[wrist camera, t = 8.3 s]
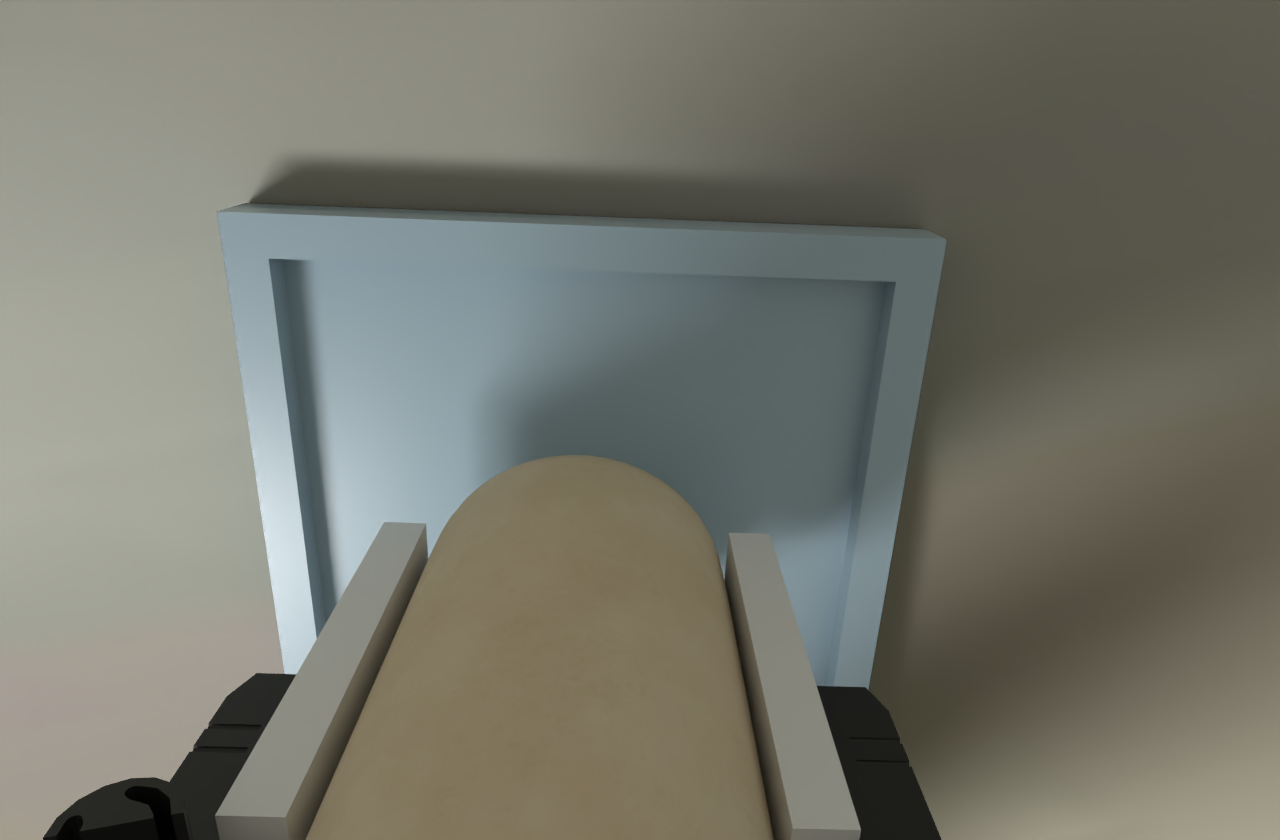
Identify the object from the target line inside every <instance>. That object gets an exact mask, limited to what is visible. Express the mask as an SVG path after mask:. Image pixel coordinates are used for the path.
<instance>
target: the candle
mask: <svg viewBox="0 0 1280 840" xmlns="http://www.w3.org/2000/svg"><path fill="white" fill-rule="evenodd" d="M306 840H774V836H773V831H772V825H771V820H770V815H769V810H768V804H767V799H766V794H765V789H764V783H763V778H762V773H761V768H760V762H759V757H758V752H757V746H756V741H755V736H754V731H753V725H752V720H751V715H750V710H749V704H748V699H747V694H746V689H745V683H744V678H743V673H742V667H741V662H740V657H739V652H738V646H737V641H736V636H735V631H734V625H733V620H732V615H731V610H730V604H729V599H728V594H727V590H726V585H725V581H724V577H723V572H722V568H721V564H720V559H719V555H718V553H717V550H716V548H715V545H714V543H713V540H712V538H711V536H710V534H709V533H708V531H707V529H706V527H705V526H704V524H703V522H702V520H701V519H700V517H699V516H698V514H697V513H696V512H695V511H694V509H693V508H692V507H691V505H690V504H689V503H688V502H687V501H686V500H685V499H684V498H683V497H682V496H681V495H680V494H679V493H678V492H677V491H675V490H674V489H673V488H671V487H670V486H669V485H667V484H666V483H665V482H663V481H662V480H660V479H659V478H657V477H655V476H653V475H651V474H650V473H648V472H646V471H644V470H642V469H639V468H637V467H634V466H632V465H630V464H627V463H624V462H620V461H616V460H612V459H609V458H603V457H596V456H589V455H562V456H551V457H545V458H541V459H536V460H532V461H528V462H525V463H523V464H520V465H517V466H514V467H511V468H509V469H507V470H506V471H504V472H502V473H500V474H498V475H496V476H494V477H493V478H491V479H490V480H488V481H487V482H485V483H484V484H482V485H481V486H480V487H478V488H477V489H476V490H475V491H474V492H473V493H472V494H471V495H470V496H469V497H467V498H466V500H465V501H464V502H463V503H462V504H461V505H460V506H459V508H458V509H457V510H456V511H455V513H454V514H453V515H452V516H451V517H450V519H449V520H448V522H447V524H446V525H445V527H444V529H443V530H442V532H441V534H440V536H439V538H438V540H437V542H436V544H435V546H434V548H433V550H432V552H431V554H430V556H429V559H428V561H427V563H426V566H425V568H424V570H423V572H422V575H421V577H420V579H419V582H418V584H417V586H416V588H415V591H414V593H413V595H412V598H411V600H410V602H409V604H408V607H407V609H406V611H405V614H404V616H403V618H402V620H401V623H400V625H399V627H398V630H397V632H396V634H395V636H394V639H393V641H392V643H391V646H390V648H389V650H388V652H387V655H386V657H385V659H384V661H383V664H382V666H381V668H380V671H379V673H378V675H377V677H376V680H375V682H374V684H373V687H372V689H371V691H370V693H369V696H368V698H367V700H366V703H365V705H364V707H363V709H362V712H361V714H360V716H359V719H358V721H357V723H356V725H355V728H354V730H353V732H352V735H351V737H350V739H349V741H348V744H347V746H346V748H345V751H344V753H343V755H342V757H341V760H340V762H339V764H338V767H337V769H336V771H335V773H334V776H333V778H332V780H331V782H330V785H329V787H328V789H327V792H326V794H325V796H324V798H323V801H322V803H321V805H320V808H319V810H318V812H317V814H316V817H315V819H314V821H313V824H312V826H311V828H310V830H309V833H308V835H307V837H306Z"/></svg>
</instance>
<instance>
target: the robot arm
mask: <svg viewBox="0 0 1280 840" xmlns="http://www.w3.org/2000/svg"><path fill="white" fill-rule="evenodd" d="M427 561H428V546H427V530H426V523H398V522H384V524H383V525H382V527H381V529H380V530H379V532H378V534H377V536H376V537H375V539H374V541H373V543H372V544H371V546H370V548H369V549H368V551H367V553H366V555H365V556H364V558H363V560H362V562H361V563H360V565H359V567H358V569H357V570H356V572H355V574H354V575H353V577H352V579H351V581H350V582H349V584H348V586H347V588H346V589H345V591H344V593H343V595H342V596H341V598H340V600H339V601H338V603H337V605H336V607H335V608H334V610H333V612H332V614H331V615H330V617H329V619H328V621H327V622H326V624H325V626H324V627H323V629H322V631H321V633H320V634H319V636H318V638H317V640H316V641H315V643H314V645H313V647H312V648H311V650H310V652H309V653H308V655H307V657H306V659H305V660H304V662H303V664H302V666H301V667H300V669H299V671H298V673H297V674H264V673H256V674H255V675H254V676H252V677H251V678H250V679H249V680H247V681H246V682H245V683H243V684H242V685H241V686H240V687H238V688H237V689H236V690H235V691H233V692H232V693H231V694H229V695H228V696H227V697H226V699H225V700H224V702H223V703H222V704H221V706H220V707H219V709H218V710H217V712H216V713H215V715H214V716H213V718H212V719H211V721H210V722H209V727H208V729H205V730H204V731H203V733H202V734H201V736H200V737H199V739H198V740H197V742H196V743H195V745H194V749H193V752H189V754H188V755H187V757H186V758H185V760H184V761H183V763H182V764H181V766H180V767H179V769H178V770H177V772H176V773H175V775H174V776H173V778H172V779H171V780H170V782H167V781H164V780H161V779H158V778H131V779H128V780H124V781H121V782H117V783H114V784H110V785H107V786H104V787H102V788H100V789H98V790H96V791H94V792H92V793H90V794H89V795H87V796H85V797H83V798H81V799H79V800H78V801H76V802H75V803H74V804H73V805H72V806H70V807H69V808H68V809H67V810H66V811H64V812H63V813H62V814H61V815H60V816H58V817H57V818H56V820H55V821H54V823H53V824H52V826H51V827H50V828H49V830H48V831H47V833H46V834H45V836H44V837H43V840H306V837H307V835H308V833H309V830H310V828H311V826H312V824H313V821H314V819H315V817H316V814H317V812H318V810H319V808H320V805H321V803H322V801H323V798H324V796H325V794H326V792H327V789H328V787H329V785H330V782H331V780H332V778H333V776H334V773H335V771H336V769H337V767H338V764H339V762H340V760H341V757H342V755H343V753H344V751H345V748H346V746H347V744H348V741H349V739H350V737H351V735H352V732H353V730H354V728H355V725H356V723H357V721H358V719H359V716H360V714H361V712H362V709H363V707H364V705H365V703H366V700H367V698H368V696H369V693H370V691H371V689H372V687H373V684H374V682H375V680H376V677H377V675H378V673H379V671H380V668H381V666H382V664H383V661H384V659H385V657H386V655H387V652H388V650H389V648H390V646H391V643H392V641H393V639H394V636H395V634H396V632H397V630H398V627H399V625H400V623H401V620H402V618H403V616H404V614H405V611H406V609H407V607H408V604H409V602H410V600H411V598H412V595H413V593H414V591H415V588H416V586H417V584H418V582H419V579H420V577H421V575H422V572H423V570H424V568H425V566H426V563H427ZM724 581H725V585H726V590H727V594H728V599H729V604H730V610H731V615H732V620H733V625H734V631H735V636H736V641H737V646H738V652H739V657H740V662H741V667H742V673H743V678H744V683H745V689H746V694H747V699H748V704H749V710H750V715H751V720H752V725H753V731H754V736H755V741H756V746H757V752H758V757H759V762H760V768H761V773H762V778H763V783H764V789H765V794H766V799H767V804H768V810H769V815H770V820H771V825H772V831H773V836H774V840H941V837H940V835H939V832H938V830H937V828H936V825H935V823H934V820H933V818H932V815H931V813H930V811H929V808H928V806H927V803H926V801H925V799H924V796H923V794H922V791H921V789H920V786H919V784H918V782H917V779H916V777H915V774H914V772H913V769H912V767H909V760H908V757H907V755H906V752H905V750H904V748H903V745H902V744H900V738H899V736H898V733H897V731H896V728H895V726H894V723H893V721H892V719H891V716H890V714H889V711H888V710H887V709H886V708H885V707H884V706H883V705H882V704H881V703H880V702H879V701H878V700H877V699H876V698H875V697H874V696H873V695H872V694H871V693H870V692H869V691H868V689H867V688H866V687H843V686H816V682H815V679H814V676H813V673H812V669H811V666H810V663H809V660H808V657H807V653H806V650H805V647H804V644H803V640H802V637H801V634H800V631H799V627H798V624H797V621H796V618H795V614H794V611H793V608H792V605H791V602H790V598H789V595H788V592H787V589H786V585H785V582H784V579H783V576H782V572H781V569H780V566H779V563H778V560H777V556H776V553H775V550H774V547H773V543H772V540H771V537H770V534H760V533H729V534H728V545H727V556H726V567H725V578H724Z"/></svg>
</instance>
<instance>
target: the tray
mask: <svg viewBox="0 0 1280 840" xmlns="http://www.w3.org/2000/svg"><path fill="white" fill-rule="evenodd" d="M217 215H218V222H219V229H220V236H221V243H222V250H223V256H224V263H225V270H226V277H227V284H228V290H229V297H230V304H231V311H232V318H233V324H234V331H235V338H236V345H237V352H238V359H239V365H240V372H241V379H242V386H243V393H244V399H245V406H246V413H247V420H248V427H249V434H250V440H251V447H252V454H253V461H254V468H255V474H256V481H257V488H258V495H259V502H260V508H261V515H262V522H263V529H264V536H265V543H266V549H267V556H268V563H269V570H270V577H271V583H272V590H273V597H274V604H275V611H276V618H277V624H278V631H279V638H280V645H281V652H282V658H283V665H284V672H285V674H297V673H298V671H299V669H300V667H301V666H302V664H303V662H304V660H305V659H306V657H307V655H308V653H309V652H310V650H311V648H312V647H313V645H314V643H315V641H316V640H317V638H318V636H319V634H320V633H321V631H322V629H323V627H324V626H325V624H326V622H327V621H328V619H329V617H330V615H331V614H332V612H333V610H334V608H335V607H336V605H337V603H338V601H339V600H340V598H341V596H342V595H343V593H344V591H345V589H346V588H347V586H348V584H349V582H350V581H351V579H352V577H353V575H354V574H355V572H356V570H357V569H358V567H359V565H360V563H361V562H362V560H363V558H364V556H365V555H366V553H367V551H368V549H369V548H370V546H371V544H372V543H373V541H374V539H375V537H376V536H377V534H378V532H379V530H380V529H381V527H382V525H383V524H384V522H398V523H426V530H427V546H428V559H429V556H430V554H431V552H432V550H433V548H434V546H435V544H436V542H437V540H438V538H439V536H440V534H441V532H442V530H443V529H444V527H445V525H446V524H447V522H448V520H449V519H450V517H451V516H452V515H453V514H454V513H455V511H456V510H457V509H458V508H459V506H460V505H461V504H462V503H463V502H464V501H465V500H466V498H467V497H469V496H470V495H471V494H472V493H473V492H474V491H475V490H476V489H477V488H478V487H480V486H481V485H482V484H484V483H485V482H487V481H488V480H490V479H491V478H493V477H494V476H496V475H498V474H500V473H502V472H504V471H506V470H507V469H509V468H511V467H514V466H517V465H520V464H523V463H525V462H528V461H532V460H536V459H541V458H545V457H551V456H562V455H589V456H596V457H603V458H609V459H612V460H616V461H620V462H624V463H627V464H630V465H632V466H634V467H637V468H639V469H642V470H644V471H646V472H648V473H650V474H651V475H653V476H655V477H657V478H659V479H660V480H662V481H663V482H665V483H666V484H667V485H669V486H670V487H671V488H673V489H674V490H675V491H677V492H678V493H679V494H680V495H681V496H682V497H683V498H684V499H685V500H686V501H687V502H688V503H689V504H690V505H691V507H692V508H693V509H694V511H695V512H696V513H697V514H698V516H699V517H700V519H701V520H702V522H703V524H704V526H705V527H706V529H707V531H708V533H709V534H710V536H711V538H712V540H713V543H714V545H715V548H716V550H717V553H718V555H719V559H720V564H721V568H722V572H723V577H724V578H725V567H726V556H727V545H728V534H729V533H760V534H770V537H771V540H772V543H773V547H774V550H775V553H776V556H777V560H778V563H779V566H780V569H781V572H782V576H783V579H784V582H785V585H786V589H787V592H788V595H789V598H790V602H791V605H792V608H793V611H794V614H795V618H796V621H797V624H798V627H799V631H800V634H801V637H802V640H803V644H804V647H805V650H806V653H807V657H808V660H809V663H810V666H811V669H812V673H813V676H814V679H815V682H816V686H843V687H866V688H867V689H869V683H870V677H871V672H872V666H873V660H874V655H875V649H876V643H877V637H878V632H879V626H880V620H881V615H882V609H883V603H884V597H885V592H886V586H887V580H888V575H889V569H890V563H891V557H892V552H893V546H894V540H895V534H896V529H897V523H898V517H899V512H900V506H901V500H902V494H903V489H904V483H905V477H906V472H907V466H908V460H909V454H910V449H911V443H912V437H913V432H914V426H915V420H916V414H917V409H918V403H919V397H920V392H921V386H922V380H923V374H924V369H925V363H926V357H927V352H928V346H929V340H930V334H931V329H932V323H933V317H934V312H935V306H936V300H937V294H938V289H939V283H940V277H941V272H942V266H943V260H944V254H945V249H946V243H947V239H945V238H943V237H941V236H938V235H936V234H934V233H932V232H930V231H928V230H926V229H906V228H880V227H854V226H828V225H802V224H776V223H750V222H724V221H698V220H673V219H647V218H621V217H595V216H569V215H543V214H517V213H491V212H465V211H440V210H414V209H388V208H362V207H336V206H310V205H284V204H258V203H245V204H241V205H238V206H234V207H231V208H227V209H224V210H220V211H217Z"/></svg>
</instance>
